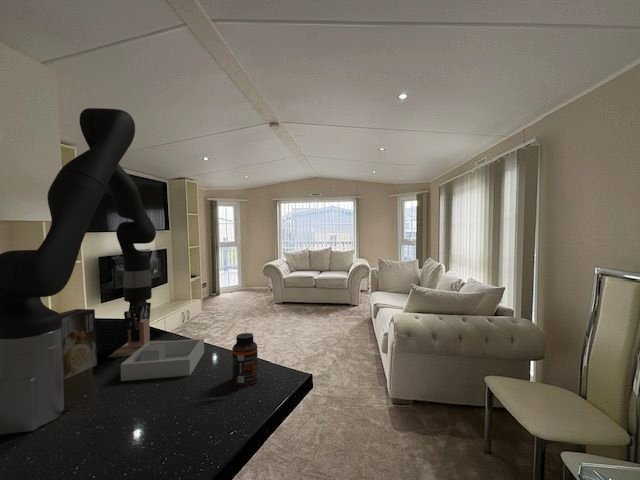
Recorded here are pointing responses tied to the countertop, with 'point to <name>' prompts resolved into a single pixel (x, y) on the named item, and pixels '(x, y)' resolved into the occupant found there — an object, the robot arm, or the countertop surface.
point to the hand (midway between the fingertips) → (139, 338)
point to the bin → (164, 361)
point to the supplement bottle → (245, 360)
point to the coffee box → (78, 341)
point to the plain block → (153, 353)
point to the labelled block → (141, 333)
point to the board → (128, 350)
